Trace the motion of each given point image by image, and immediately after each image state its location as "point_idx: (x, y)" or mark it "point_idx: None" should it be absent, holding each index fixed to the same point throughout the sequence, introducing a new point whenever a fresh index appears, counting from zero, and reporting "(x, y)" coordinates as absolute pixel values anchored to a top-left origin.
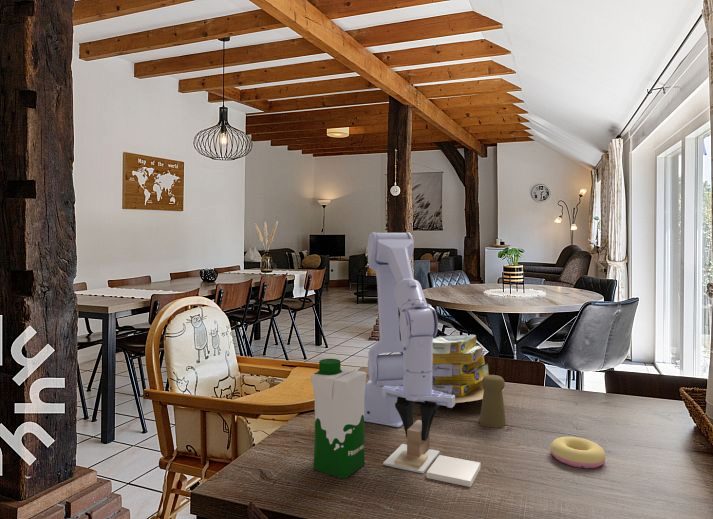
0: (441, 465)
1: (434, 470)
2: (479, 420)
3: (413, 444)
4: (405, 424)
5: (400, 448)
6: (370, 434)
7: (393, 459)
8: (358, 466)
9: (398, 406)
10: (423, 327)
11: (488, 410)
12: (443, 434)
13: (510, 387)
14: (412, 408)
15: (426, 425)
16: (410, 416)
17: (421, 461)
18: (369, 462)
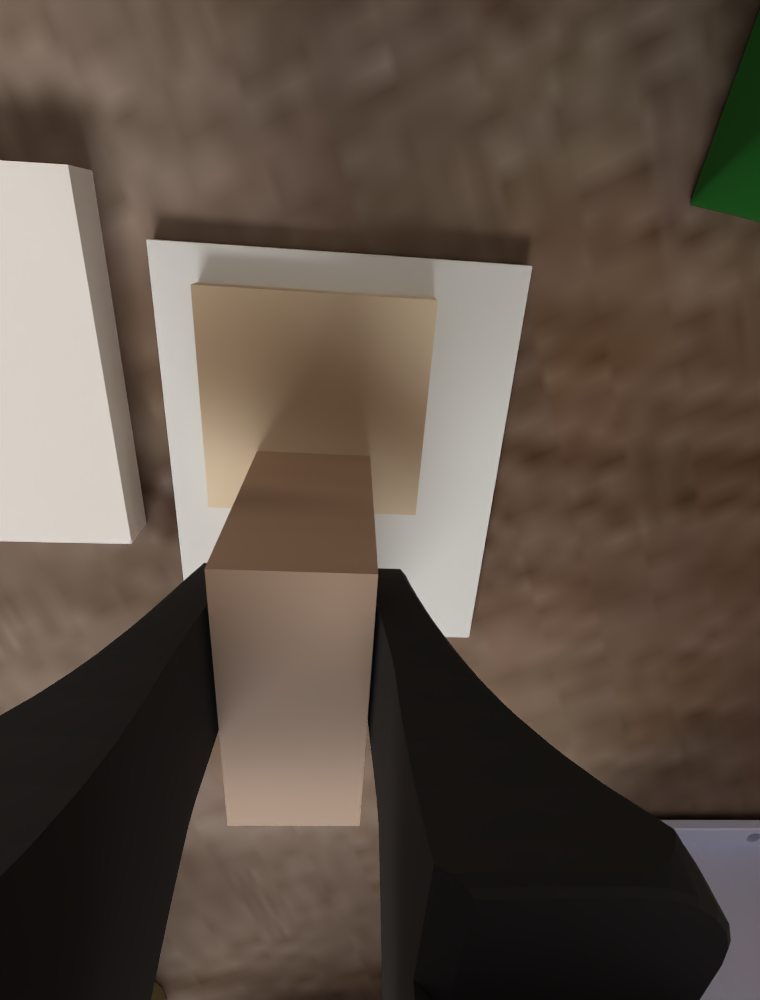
0: (19, 366)
1: (20, 236)
2: (157, 996)
3: (305, 496)
4: (417, 641)
5: (460, 567)
6: (708, 695)
7: (461, 367)
8: (753, 51)
9: (619, 859)
10: None
11: None
12: (274, 832)
13: None
14: (385, 936)
15: (95, 658)
16: (387, 788)
17: (208, 375)
18: (651, 268)
